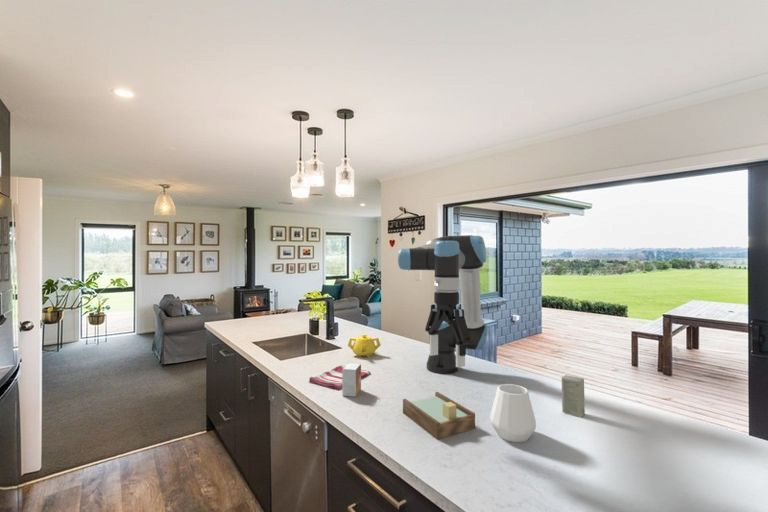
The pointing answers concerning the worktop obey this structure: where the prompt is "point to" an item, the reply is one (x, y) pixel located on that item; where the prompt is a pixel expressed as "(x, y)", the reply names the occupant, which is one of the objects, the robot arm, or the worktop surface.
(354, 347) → the yellow sugar bowl
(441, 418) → the cover plate
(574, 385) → the skincare box
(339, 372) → the dish towel
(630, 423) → the worktop surface
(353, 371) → the small box
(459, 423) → the wooden tray
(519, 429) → the white ceramic vase
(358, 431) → the worktop surface
